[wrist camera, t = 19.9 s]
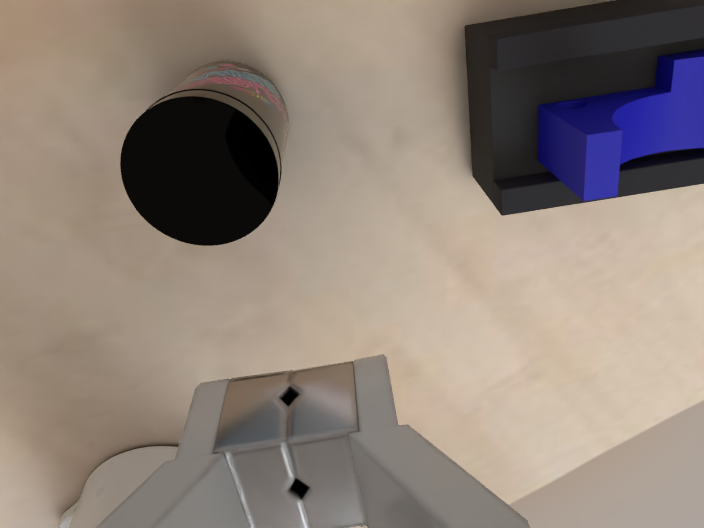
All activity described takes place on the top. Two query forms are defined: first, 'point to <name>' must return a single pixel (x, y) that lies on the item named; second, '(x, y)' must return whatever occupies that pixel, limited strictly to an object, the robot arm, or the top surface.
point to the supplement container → (208, 155)
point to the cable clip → (623, 126)
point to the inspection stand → (570, 91)
